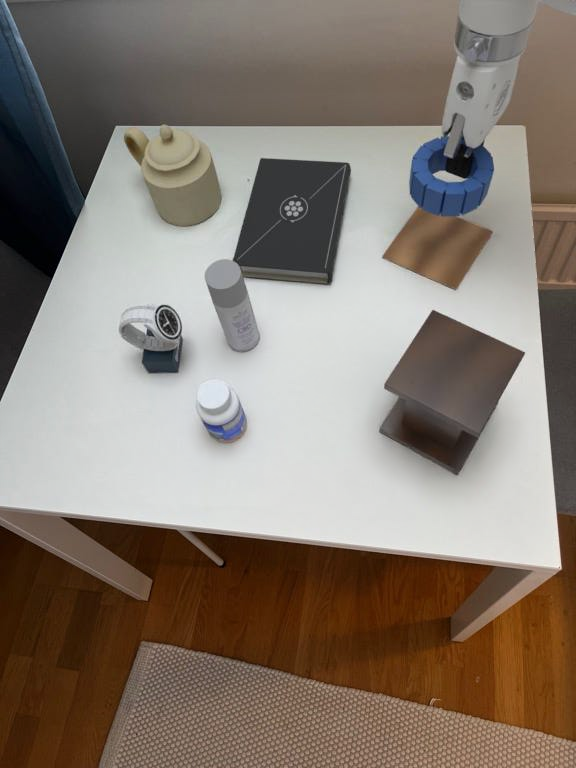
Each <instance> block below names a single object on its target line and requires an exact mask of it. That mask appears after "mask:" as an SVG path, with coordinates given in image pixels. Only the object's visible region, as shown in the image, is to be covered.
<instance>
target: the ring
mask: <svg viewBox="0 0 576 768" xmlns="http://www.w3.org/2000/svg"><path fill="white" fill-rule="evenodd" d="M448 138H449V135H448V136H447V137H445V138H444V137H443V135H442V136H440V138H439V137H436V138H433V139H431V140H429V141H427V142H424V143H423V144H422V145H420V146H419V147H418V149H417V151H416V152H415V153H414V155H413V156H412V158H411V165H410V173H409V180H408V185H409V186H408V187H409V196H410V198H411V199H412V201H413V202H414V203H415V204H416V205H417V207H418V206H419V207H420V208H421V207H423V209H422V210H424V211H427V212H429V213H432V214H434V215H437V216H439V214H440V213H441V216H442V217H445V216H456V217H460V215H461V216H464V215H466V214H468V213H471V212H473V211H475V210H477V209H478V208H479V207H481V205H482V204H483V202H484V201H485V199H486V198H487V196H488V193H489V190H490V186H491V184H492V183H491V182H492V179H493V176H494V172H495V164H494V156H493V155H492V153H491V152H490V151H489V150H488V149H487V148H486V147H485V146H484V145H482V144H481V145H479V146H478V147H476V148H473V149H472V152H473V153H474V156H473V160H472V164H471V169H470V173H469V176H468V177H467V178H466V179H464V180H461V181H447V180H443V179H441V178H437V177H436V176H435V175H434V174H437V173H438V172H446V171H445V166H446V161H447V157H446V156H444V155H443V154H444V151H445V148H446V145H447V141H448ZM460 143H461V144H464V145H466V143H465V140H463V139H461V142H460Z"/></svg>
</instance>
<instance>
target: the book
mask: <svg viewBox="0 0 576 768" xmlns="http://www.w3.org/2000/svg"><path fill="white" fill-rule="evenodd" d="M351 175H352V167H351V165H350V163H349V162H347V161H346V162H343V161H326V160H307V159H306V160H305V159H289V158H288V159H287V158H286V159H284V158H267V157H260V158H259V162H258V166H257V169H256V173H255V177H254V179H253V180H254V181H253V183H252V188H251V192H250V195H249V199H248V202H247V207H246V209H245V213H244V218H243V222H242V225H241V228H240V233H239V236H238V240H237V243H236V247H235V251H234V255H233V257H232V261H234V262H236V263H237V264H238V265H239V267H240V269H241V272H242V275H243V278H248V279H258V280H259V279H261V280H271V281H282V282H293V283H305V284H316V285H326V286H327V285H328V286H329V285H331V284H332V281H333V275H334V271H335V263H336V257H337V252H338V247H339V242H340V235H341V229H342V224H343V219H344V213H345V207H346V202H347V197H348V190H349V185H350V180H351Z"/></svg>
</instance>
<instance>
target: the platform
mask: <svg viewBox="0 0 576 768" xmlns="http://www.w3.org/2000/svg"><path fill="white" fill-rule="evenodd" d="M525 354H526V351H523V350H521V349H519V348H517V347H514V346H512V345H510V344H508V343H506V342H504V341H501V340H499V339H497V338H495V337H493V336H491V335H488V334H486V333H484V332H482V331H480V330H478V329H476V328H474V327H471V326H469V325H467V324H465V323H463V322H461V321H458V320H457V319H454V318H452V317H451V316H448V315H446V314H443V313H441V312H440V311H437V310H434V309H432V310H431V311H430V313H429V314H428V316H427V317H426V319H425V320H424V322H423V324H422V325H421V326H420V328H419V329H418V332H417V333H416V334H415V335H414V338H413V339H412V341H411V342H410V344H409V345H408V347H407V348H406V350H405V351H404V353H403V354H402V356H401V358H400V359H399V361H398V362H397V364H396V365H395V367H394V368H393V370H392V371H391V373H390V375H389V376H388V378H387V379H386V380H385V382H384V385H383V389H384V390H386V391H387V392H390V393H391V394H392V395H393V394H394V395H395V396H397V397H398V398H397V400H396V401H395V403H394V404H393V406H392V408H391V409H390V411H389V412H388V414H387V416H386V418H385V419H384V421H383V422H382V423H381V425H380V427H379V433H380V434H382V435H384V436H386V437H388V438H389V439H391V440H393V441H395V442H396V443H399V444H400V445H402V446H404V447H405V448H407V449H409V450H411V451H413V452H415V453H416V454H418V455H420V456H422V457H424V458H425V459H427V460H429V461H431V462H433V463H435V464H436V465H438V466H440V467H441V468H444V469H445V470H447V471H448V472H451V473H452V474H454V475H456V476H458V475H459V474H460V472H461V471H462V469H463V467H464V465H465V463H466V462H467V460H468V458H469V456H470V455H471V453H472V451H473V449H474V447H475V446H476V444H477V442H478V440H479V438H480V437H481V435H482V433H483V431H484V430H485V428H486V426H487V424H488V422H489V421H490V419H491V417H492V415H493V413H494V412H495V410H496V408H497V406H498V404H499V401H500V399H501V398H502V396H503V394H504V393H505V391H506V389H507V387H508V386H509V383H510V381H511V380H512V379H513V376H514V374H515V373H516V371H517V369H518V367H519V366H520V364H521V362H522V360H523V358H524V356H526V355H525Z"/></svg>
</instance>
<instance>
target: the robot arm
mask: <svg viewBox="0 0 576 768" xmlns="http://www.w3.org/2000/svg"><path fill="white" fill-rule="evenodd" d="M539 3H542V4H544V5H546V6H548V7H551V8H552V9H555V10H557V11H560V12H562V13H565V14H569V15H571V16H576V0H460V3H459V9H458V14H457V20H456V26H455V33H454V37H453V38H454V39H453V49H454V52H455V53H456V55H457V56H456V60H455V64H454V68H453V71H452V75H451V78H450V83H449V86H448V91H447V96H446V100H445V105H444V111H443V114H442V121H441V122H442V123H441V135H442V136H443V137H444V138H445V137H447V136H449V138H448V141H447V145H446V148H445V151H444V154H443V155H444V156H446V157H447V161H446V166H445V171H444V172H446V173H448V174H451V175H453V176H456V177H459V178H461V179H464V180H466V179H467V177H468V176H469V173H470V169H471V164H472V160H473V156H474V153H473V152H472V149H473V148H476V147H478V146H479V145H481V144H482V145H483V146H484V144H485V141H486V139H487V137H488V136H489V134H490V133H491V131H492V130H493V129H494V127H495V126H496V124H497V123H498V122H499V120H500V118H502V116H503V114H504V113H505V111H506V109H507V108H508V106H509V104H510V101H511V99H512V95H513V90H514V86H515V82H516V77H517V73H518V69H519V64H520V60H521V56H522V55H523V54H524V53H525V51H526V49H527V48H526V47H527V44H528V40H529V37H530V33H531V29H532V26H533V23H534V20H535V17H536V13H537V9H538V7H539V6H538V5H539ZM461 139H463V140H465V143H466V145H464V144H461V143H460V142H461Z"/></svg>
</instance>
